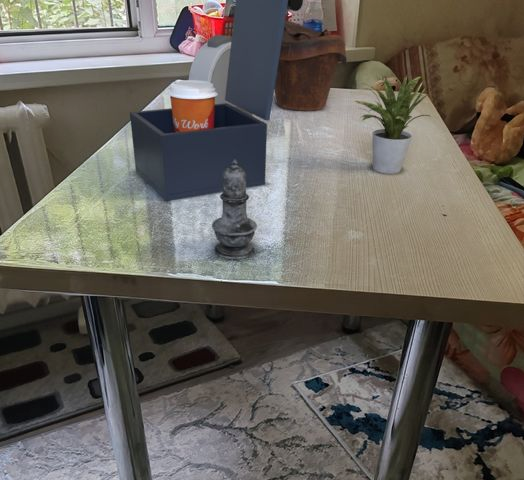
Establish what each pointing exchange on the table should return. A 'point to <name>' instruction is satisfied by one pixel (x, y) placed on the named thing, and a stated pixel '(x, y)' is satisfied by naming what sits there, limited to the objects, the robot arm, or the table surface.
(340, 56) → the brown bucket
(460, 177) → the table surface
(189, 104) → the paper cup
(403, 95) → the house plant
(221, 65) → the alarm clock
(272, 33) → the lid
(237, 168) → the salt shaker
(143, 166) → the dark blue open box
